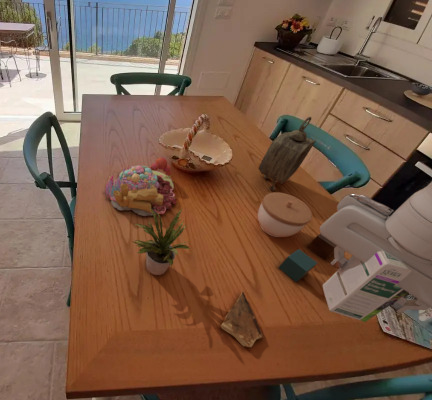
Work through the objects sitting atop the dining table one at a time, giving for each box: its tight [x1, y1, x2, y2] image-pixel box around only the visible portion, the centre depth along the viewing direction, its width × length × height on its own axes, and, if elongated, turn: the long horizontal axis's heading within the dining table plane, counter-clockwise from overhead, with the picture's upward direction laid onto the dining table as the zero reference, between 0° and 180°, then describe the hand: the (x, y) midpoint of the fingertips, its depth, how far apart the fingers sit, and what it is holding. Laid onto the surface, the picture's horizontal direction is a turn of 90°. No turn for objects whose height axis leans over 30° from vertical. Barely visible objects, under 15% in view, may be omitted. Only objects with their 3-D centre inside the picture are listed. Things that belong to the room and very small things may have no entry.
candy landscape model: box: [105, 157, 178, 217], centre depth 87 cm, size 25×24×9 cm
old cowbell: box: [258, 116, 316, 192], centre depth 91 cm, size 14×9×25 cm, turn 131°
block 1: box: [278, 248, 318, 283], centre depth 69 cm, size 5×5×5 cm
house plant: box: [131, 207, 191, 276], centre depth 64 cm, size 14×14×16 cm
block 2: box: [307, 233, 337, 260], centre depth 74 cm, size 5×5×5 cm
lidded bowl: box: [257, 191, 313, 238], centre depth 78 cm, size 13×13×11 cm
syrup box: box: [322, 250, 412, 323], centre depth 45 cm, size 6×6×14 cm
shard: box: [220, 291, 264, 348], centre depth 59 cm, size 11×8×2 cm
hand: (364, 285), depth 45 cm, fingers closed on syrup box, 8 cm apart
